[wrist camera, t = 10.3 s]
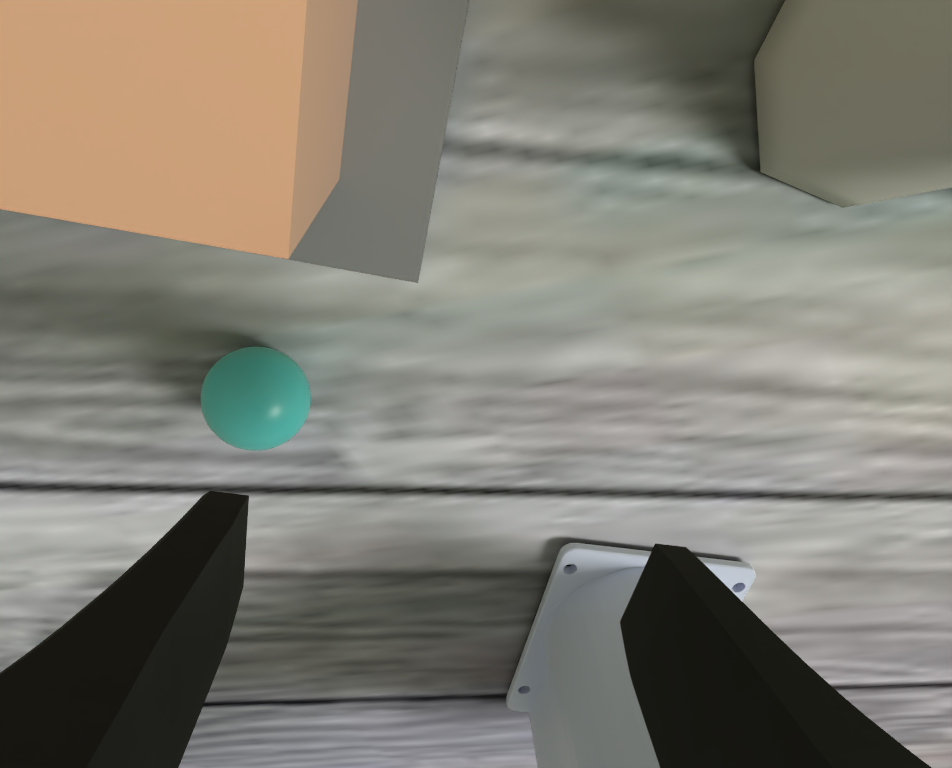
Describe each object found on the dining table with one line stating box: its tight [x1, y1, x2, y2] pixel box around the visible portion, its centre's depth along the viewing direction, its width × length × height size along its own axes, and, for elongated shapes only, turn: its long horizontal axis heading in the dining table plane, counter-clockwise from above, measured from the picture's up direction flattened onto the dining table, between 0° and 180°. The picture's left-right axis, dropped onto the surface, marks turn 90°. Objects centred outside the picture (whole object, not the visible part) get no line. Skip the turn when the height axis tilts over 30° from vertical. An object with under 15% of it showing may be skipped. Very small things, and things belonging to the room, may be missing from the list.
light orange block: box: [0, 0, 358, 259], centre depth 12 cm, size 5×5×7 cm
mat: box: [261, 0, 469, 283], centre depth 15 cm, size 10×10×1 cm
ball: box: [201, 347, 311, 450], centre depth 18 cm, size 3×3×3 cm
